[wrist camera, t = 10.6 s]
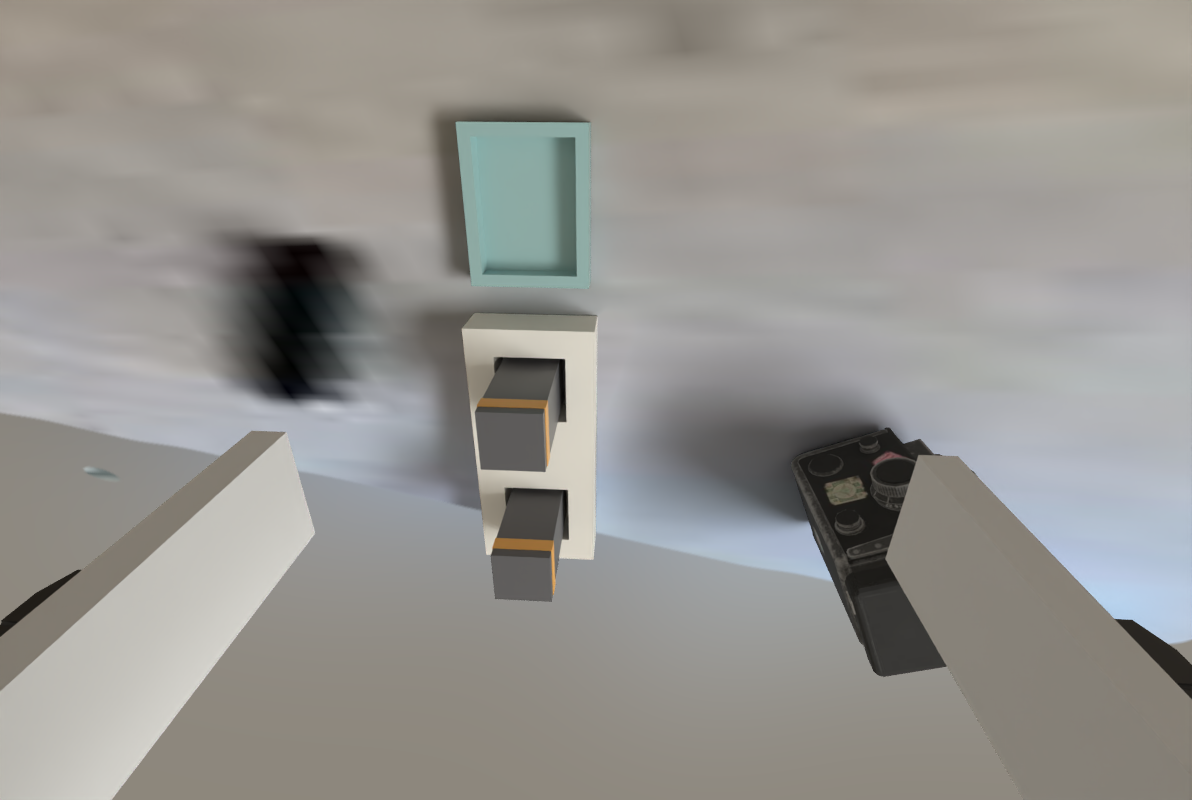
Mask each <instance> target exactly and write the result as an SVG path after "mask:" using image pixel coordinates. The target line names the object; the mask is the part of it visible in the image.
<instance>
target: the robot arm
mask: <svg viewBox="0 0 1192 800" xmlns="http://www.w3.org/2000/svg"><path fill="white" fill-rule="evenodd" d="M314 534H315V530H314V527H313V524H312V520H311V517H310V513H309V510H308V506H307V503H306V499H305V496H304V493H303V489H302V485H301V482H300V478H299V475H298V471H297V468H296V464H295V461H294V457H293V454H292V450H291V447H290V443H289V440H288V436H287V433H286V432H267V431H251V432H250V433H248V434H247V435H246V436H245V437H244V438H242V439H241V440H240V441H239V442H237V443H236V444H235V445H234V446H233V447H231V448H230V449H229V450H228V451H227V452H225V453H224V454H223V455H222V456H220V457H219V458H218V459H217V460H216V461H214V462H213V463H212V464H211V465H209V466H208V467H207V468H206V469H205V470H203V471H202V472H201V473H200V474H199V475H197V476H196V477H195V478H194V479H192V480H191V481H190V482H189V483H187V484H186V485H185V486H184V487H183V488H182V489H180V490H179V491H178V492H177V493H175V494H174V495H173V496H172V497H171V498H169V499H168V500H167V501H166V502H164V503H163V504H162V505H161V506H160V507H158V508H157V509H156V510H155V511H153V512H152V513H151V514H150V515H148V516H147V517H146V518H145V519H144V520H142V521H141V522H140V523H139V524H138V525H136V526H135V527H134V528H133V529H131V530H130V531H129V532H128V533H127V534H125V535H124V536H123V537H122V538H121V539H119V540H118V541H117V542H116V543H114V544H113V545H112V546H111V547H110V548H108V549H107V550H106V551H105V552H103V553H102V554H101V555H100V556H98V557H97V558H96V559H95V560H94V561H92V562H91V563H90V564H89V565H88V566H86V567H85V568H84V569H83V570H76V571H75V572H73V573H71V574H69V575H68V576H66V577H64V578H62V579H60V580H58V581H57V582H55V583H53V584H51V585H49V586H48V587H46V588H44V589H42V590H40V591H39V592H37V593H35V594H34V595H33V596H32V597H30V598H29V599H28V600H27V601H25V602H24V603H23V604H22V605H20V606H19V607H18V608H17V609H15V610H14V611H13V612H11V613H10V614H9V615H8V616H6V617H5V618H4V619H3V620H2V623H1V625H0V800H112V798H113V797H114V796H115V795H116V793H117V792H118V791H119V789H120V788H121V787H122V785H123V784H124V783H125V781H126V780H127V779H128V777H129V776H130V775H131V773H132V772H133V771H134V770H135V768H136V767H137V766H138V764H139V763H140V762H141V761H142V759H143V758H144V757H145V755H146V754H147V753H148V751H149V750H150V749H151V747H152V746H153V745H154V744H155V742H156V741H157V740H158V738H159V737H160V735H161V734H162V733H163V732H164V730H165V729H166V728H167V727H168V725H169V724H170V723H171V721H172V720H173V719H174V717H175V716H176V715H177V713H178V712H179V711H180V709H181V708H182V707H183V706H184V704H185V703H186V702H187V700H188V699H189V698H190V696H191V695H192V694H193V692H194V691H195V690H196V689H197V687H198V686H199V685H200V683H201V682H202V681H203V679H204V678H205V677H206V676H207V674H208V673H209V672H210V670H211V669H212V668H213V666H214V665H215V664H216V662H217V661H218V660H219V659H220V657H221V656H222V655H223V653H224V652H225V651H226V649H227V648H228V647H229V645H230V644H231V643H232V641H233V640H234V639H235V638H236V636H237V634H239V632H240V631H241V630H242V628H243V627H244V626H245V624H246V623H247V622H248V621H249V619H250V618H251V617H252V615H253V614H254V613H255V611H256V610H257V609H258V607H259V606H260V605H261V604H262V602H263V601H264V600H265V598H266V597H267V596H268V594H269V593H270V592H271V591H272V589H273V588H274V586H275V585H276V584H277V583H278V581H279V580H280V579H281V577H282V576H283V575H284V574H285V572H286V571H287V570H288V568H289V567H290V565H291V564H292V563H293V562H294V560H295V559H296V558H297V557H298V555H299V554H300V553H301V551H302V550H303V549H304V547H305V546H306V545H307V543H308V542H309V541H310V540H311V538H312V537H313V536H314ZM885 559H886V561H887V563H888V565H889V566H890V568H891V570H892V572H893V573H894V575H895V577H896V579H897V580H898V582H899V584H900V586H901V587H902V589H903V591H904V593H905V594H906V596H907V598H908V600H909V601H910V603H911V605H912V607H913V608H914V610H915V612H916V613H917V615H918V617H919V619H920V620H921V622H922V624H923V626H924V627H925V629H926V631H927V633H928V634H929V636H930V638H931V640H932V641H933V643H934V645H935V647H936V648H937V650H938V652H939V654H940V655H941V657H942V659H943V661H944V662H945V664H946V666H947V667H948V669H949V671H950V673H951V674H952V676H953V678H954V680H955V681H956V683H957V685H958V686H959V688H960V690H961V692H962V694H963V695H964V697H965V699H966V701H967V702H968V704H969V706H970V707H971V709H972V711H973V713H974V715H975V716H976V718H977V720H978V722H979V723H980V725H981V727H982V728H983V730H984V732H985V734H986V735H987V737H988V739H989V741H990V742H991V744H992V746H993V748H994V749H995V751H996V753H997V754H998V756H999V758H1000V760H1001V762H1002V763H1003V765H1004V767H1005V769H1006V770H1007V772H1008V774H1009V775H1010V777H1011V779H1012V781H1013V782H1014V784H1015V786H1016V788H1017V789H1018V791H1019V793H1020V795H1021V796H1022V798H1023V800H1192V665H1191V664H1190V663H1189V662H1188V661H1187V660H1186V659H1185V658H1184V657H1183V656H1182V655H1181V654H1180V653H1179V652H1178V651H1177V650H1175V649H1174V648H1173V647H1171V646H1170V645H1168V644H1167V643H1166V642H1164V641H1163V640H1161V639H1160V638H1158V637H1157V636H1155V635H1154V634H1152V633H1151V632H1149V631H1148V630H1146V629H1145V628H1143V627H1142V626H1140V625H1139V624H1137V623H1136V622H1134V621H1133V620H1122V619H1114V618H1113V617H1112V616H1111V615H1110V614H1109V613H1108V612H1107V611H1106V610H1105V609H1104V608H1103V607H1102V606H1101V605H1100V604H1099V603H1098V602H1097V600H1096V599H1095V598H1094V597H1093V596H1092V595H1091V594H1090V593H1089V592H1088V591H1087V590H1086V589H1085V588H1084V587H1083V586H1082V585H1081V584H1080V583H1079V582H1078V581H1077V580H1076V579H1075V578H1074V577H1073V576H1072V575H1071V573H1070V572H1069V571H1068V570H1067V569H1066V568H1065V567H1064V566H1063V565H1062V564H1061V563H1060V562H1059V561H1058V560H1057V559H1056V558H1055V557H1054V556H1053V555H1052V554H1051V553H1050V552H1049V551H1048V550H1047V549H1046V548H1045V546H1044V545H1043V544H1042V543H1041V542H1040V541H1039V540H1038V539H1037V538H1036V537H1035V536H1034V535H1033V534H1032V533H1031V532H1030V531H1029V530H1028V529H1027V528H1026V527H1025V526H1024V525H1023V524H1022V523H1021V522H1020V521H1019V519H1018V518H1017V517H1016V516H1015V515H1014V514H1013V513H1012V512H1011V511H1010V510H1009V509H1008V508H1007V507H1006V506H1005V505H1004V504H1003V503H1002V502H1001V501H1000V500H999V499H998V498H997V497H996V496H995V495H994V494H993V492H992V491H991V490H990V489H989V488H988V487H987V486H986V485H985V484H984V483H983V482H982V481H981V480H980V479H979V478H978V477H977V476H976V475H975V474H974V473H973V472H972V471H971V470H970V469H969V468H968V467H967V465H966V464H965V463H964V462H963V461H962V460H961V459H960V458H959V457H958V456H934V455H918V458H917V461H916V464H915V468H914V471H913V474H912V477H911V480H910V483H909V486H908V489H907V493H906V496H905V499H904V502H903V505H902V508H901V511H900V515H899V518H898V521H897V524H896V527H895V530H894V533H893V536H892V540H891V543H890V546H889V549H888V552H887V555H886V558H885Z"/></svg>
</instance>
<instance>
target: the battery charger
mask: <svg viewBox="0 0 1192 800" xmlns="http://www.w3.org/2000/svg"><path fill="white" fill-rule="evenodd" d="M462 336H463V345H464V354H465V364H466V373H467V382H468V391H469V400H470V409H471V418H472V427H473V436H474V446H475V455H476V464H477V473H478V482H479V491H480V500H481V509H482V519H483V527H484V536H485V546H486V554H487V555H491V563H492V573H493V583H494V592H495V599H509V600H529V601H549V602H551V601H552V596H553V594H554V589H555V578H556V572H557V566H558V561H559V558H569V559H570V558H571V559H591V560H592V559H593V557H594V547H595V535H596V432H597V316H579V315H538V314H498V313H474V314H473V315H472V317H471V318H470V319H469V320H468V321H467V323H466V324H465V325H464V326H463V328H462ZM504 357H515V358H551V359H563V390H564V399H563V403H562V407H561V411H560V415H559V419H558V423H557V427H556V432H555V436H554V440H553V444H552V448H551V452H550V460H549V464H548V466H547V468H546V472H531V471H505V470H481V467H480V458H479V449H478V439H477V430H476V420H475V410H476V409H477V404H478V402H479V401H480V399H481V398H482V397H483V396H484V394H485V392H486V390H487V388H488V386H489V384H490V383H491V381H492V379H493V377H494V375H495V373H496V371H497V370H498V368H499V366H500V364H501V362H502V360H503V358H504Z"/></svg>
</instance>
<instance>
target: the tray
mask: <svg viewBox="0 0 1192 800" xmlns="http://www.w3.org/2000/svg"><path fill="white" fill-rule="evenodd" d="M456 132H457V142H458V152H459V162H460V173H461V183H462V193H463V203H464V214H465V224H466V234H467V245H468V255H469V265H470V275H471V286H492V287H538V288H583V289H589V286H590V282H591V122H456Z"/></svg>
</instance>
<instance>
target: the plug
mask: <svg viewBox="0 0 1192 800" xmlns="http://www.w3.org/2000/svg"><path fill="white" fill-rule="evenodd" d="M563 399H564V390H563V359H551V358H515V357H504V358H503V360H502V362H501V364H500V366H499V368H498V370H497V371H496V373H495V375H494V377H493V379H492V381H491V383H490V384H489V386H488V388H487V390H486V392H485V394H484V396H483V397H482V398H481V399H480V401H479V402H478V404H477V409H476V410H475V420H476V430H477V439H478V449H479V458H480V467H481V470H505V471H531V472H546V468H547V466H548V464H549V460H550V452H551V448H552V444H553V440H554V436H555V432H556V427H557V423H558V419H559V415H560V411H561V407H562V403H563Z"/></svg>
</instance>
